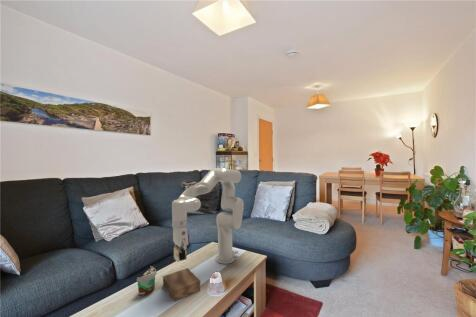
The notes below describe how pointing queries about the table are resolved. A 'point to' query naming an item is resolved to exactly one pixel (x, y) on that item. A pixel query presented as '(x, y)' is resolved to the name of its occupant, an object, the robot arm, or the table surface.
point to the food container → (147, 282)
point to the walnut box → (181, 284)
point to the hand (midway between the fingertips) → (180, 257)
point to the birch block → (176, 253)
